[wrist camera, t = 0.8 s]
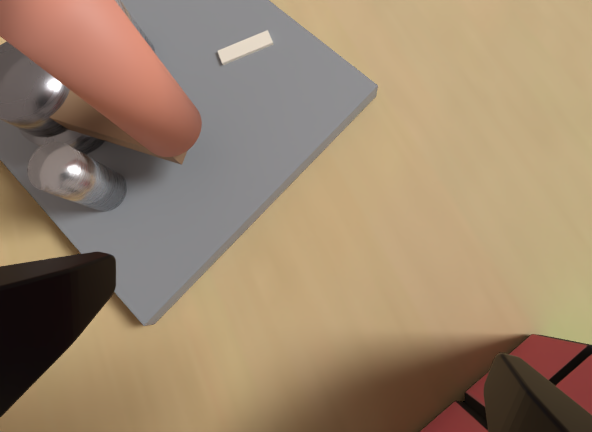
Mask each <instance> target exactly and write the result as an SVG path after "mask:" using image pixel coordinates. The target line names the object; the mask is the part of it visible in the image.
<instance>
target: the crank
mask: <svg viewBox="0 0 592 432" xmlns="http://www.w3.org/2000/svg"><path fill="white" fill-rule="evenodd" d="M0 36H1V37H2V38H3V39H5V40H6V41H7V42H5V43H3V44H2V45H0V119H1V120H3V121H5V122H7V123H9V124H11V125H13V126H14V127H16V128H18V129H20V130H22V131H24V132H26V133H28V134H30V135H32V136H36V137H52V136H56V135H59V134H61V133H63V132H65V131H67V130H68V129H69V130H72V131H75V132H78V133H81V134H85V135H88V136H91V137H94V138H97V139H101V140H104V141H107V142H110V143H114V144H117V145H120V146H123V147H126V148H130V149H133V150H136V151H139V152H142V153H146V154H149V155H152V156H155V157H158V158H162V159H165V160H168V161H171V162H174V163H178V164H181V165H182V163H183V161H184V158H185V156H186V153H187V151H188V150H189V149H190V148H191V147H192V146H193V145H194V144H195V142H196V141H197V139H198V137H199V135H200V132H201V128H202V120H201V116H200V113H199V111H198V109H197V108H196V107H195V105H194V104H193V103H192V101H191V100H190V99H189V97H188V96H187V95H186V94H185V92H184V91H183V90H182V88H181V87H180V86H179V84H178V83H177V82H176V80H175V79H174V78H173V76H172V75H171V74H170V72H169V71H168V70H167V68H166V67H165V66H164V64H163V63H162V62H161V61H160V59H159V58H158V57H157V55H156V54H155V53H154V51H153V50H152V49H151V47H150V46H149V45H148V43H147V42H146V41H145V39H144V38H143V37H142V35H141V34H140V33H139V31H138V30H137V29H136V27H135V26H134V25H133V24H132V22H131V21H130V20H129V18H128V17H127V16H126V14H125V13H124V12H123V10H122V9H121V8H120V6H119V5H118V4H117V2H116V1H115V0H0Z"/></svg>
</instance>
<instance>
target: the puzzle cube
mask: <svg viewBox="0 0 592 432" xmlns="http://www.w3.org/2000/svg"><path fill="white" fill-rule="evenodd" d="M509 355H513V356H517V357H520V358H521V359H523V360H524V361H525V362H526V363H528V364H529V365H530V366H531V367H533V368H534V369H535V370H536V371H538V372H539V373H540V374H541V375H543V376H544V377H545V378H546V379H548V380H549V381H550V382H551V383H553V384H554V385H555V386H556V387H558V388H559V389H560V390H561V391H563V392H564V393H565V394H566V395H568V396H569V397H570V398H571V399H572V400H574V401H575V402H576V403H577V404H579V405H580V406H581V407H582V408H584V409H585V410H586V411H587V412H589V413H590V414H591V415H592V345H589V344H584V343H579V342H574V341H569V340H564V339H559V338H554V337H548V336H543V335H535V334H532V335H530V336H529V337H528V338H527V339H526V340H525V341H523V342H522V343H521V344H520V345H519V346H518V347H517V348H515V349H514V350H513V351H512V352H511V353H510V354H509ZM488 373H489V372H488ZM488 373H487V374H485V375H484V376H483V377H482V378H481V379H480V380H479V381H477V382H476V383H475V384H474V385H473V386H472V387H471V388H469V389H468V390H467V391H466V392H465V402H460V401H454V402H453V403H452V404H451V405H450V406H449V407H448V408H446V409H445V410H444V411H443V412H442V413H441V414H439V415H438V416H437V417H436V418H435V419H434V420H433V421H431V422H430V423H429V424H428V425H427V426H426V427H424V428H423V429H422V430H421V431H420V432H488V425H487V417H486V410H485V402H484V384H485V381H486V378H487V376H488Z"/></svg>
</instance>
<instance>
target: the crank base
mask: <svg viewBox="0 0 592 432" xmlns="http://www.w3.org/2000/svg"><path fill="white" fill-rule="evenodd" d="M115 1H116V2H117V4H118V5H119V6H120V8H121V9H122V10H123V12H124V13H125V14H126V16H127V17H128V18H129V20H130V21H131V22H132V24H133V25H134V26H135V27H136V29H137V30H138V31H139V33H140V34H141V35H142V37H143V38H144V39H145V41H146V42H147V43H148V45H149V46H150V47H151V49H152V50H153V51H154V53H155V54H156V55H157V57H158V58H159V59H160V61H161V62H162V63H163V64H164V66H165V67H166V68H167V70H168V71H169V72H170V74H171V75H172V76H173V78H174V79H175V80H176V82H177V83H178V84H179V86H180V87H181V88H182V90H183V91H184V92H185V94H186V95H187V96H188V97H189V99H190V100H191V101H192V103H193V104H194V105H195V107H196V108H197V109H198V111H199V113H200V116H201V120H202V128H201V132H200V135H199V137H198V139H197V141H196V142H195V144H194V145H193V146H192V147H191V148H190V149H189V150H188V151H187V153H186V156H185V158H184V161H183V163H182V165H181V164H178V163H174V162H171V161H168V160H165V159H162V158H158V157H155V156H152V155H149V154H146V153H142V152H139V151H136V150H133V149H130V148H126V147H123V146H120V145H117V144H114V143H110V142H107V141H104V140H101V139H97V138H94V137H91V136H88V135H85V134H81V133H78V132H75V131H72V130H69V129H68V130H67V131H65V132H63V133H61V134H59V135H56V136H52V137H36V136H32V135H30V134H28V133H26V132H24V131H22V130H20V129H18V128H16V127H14V126H13V125H11V124H9V123H7V122H5V121H3V120H1V119H0V160H1V161H2V162H3V164H4V165H5V166H6V167H7V168H8V169H9V171H10V172H11V173H12V174H13V175H14V176H15V177H16V179H17V180H18V181H19V182H20V183H21V184H22V186H23V187H24V188H25V189H26V190H27V191H28V193H29V194H30V195H31V196H32V197H33V198H34V199H35V201H36V202H37V203H38V204H39V205H40V206H41V208H42V209H43V210H44V211H45V212H46V213H47V215H48V216H49V217H50V218H51V219H52V220H53V221H54V223H55V224H56V225H57V226H58V227H59V228H60V230H61V231H62V232H63V233H64V234H65V235H66V237H67V238H68V239H69V240H70V241H71V242H72V243H73V245H74V246H75V247H76V248H77V249H78V250H79V252H80V253H81V254H84V253H90V252H97V251H98V252H103V253H107V254H111V255H113V256H114V257H115V259H116V288H115V291H114V292H115V293H116V294H117V296H118V297H119V298H120V299H121V300H122V301H123V302H124V304H125V305H126V306H127V307H128V308H129V309H130V311H131V312H132V313H133V314H134V315H135V316H136V318H137V319H138V320H139V321H140V322H141V323H142V324H143V326H146V325H152V324H155V323H156V322H157V321H158V320H159V319H160V318H161V317H162V316H163V315H164V314H165V313H166V312H167V311H168V310H169V309H170V308H171V307H172V306H173V305H174V304H175V303H176V301H177V300H178V299H179V298H180V297H181V296H182V295H183V294H184V293H185V292H186V291H187V290H188V289H189V288H190V287H191V286H192V285H193V284H194V283H195V282H196V281H197V280H198V279H199V278H200V277H201V276H202V275H203V274H204V273H205V272H206V271H207V270H208V269H209V268H210V267H211V265H212V264H213V263H214V262H215V261H216V260H217V259H218V258H219V257H220V256H221V255H222V254H223V253H224V252H225V251H226V250H227V249H228V248H229V247H230V246H231V245H232V244H233V243H234V242H235V241H236V240H237V239H238V238H239V237H240V236H241V235H242V234H243V233H244V232H245V231H246V230H247V228H248V227H249V226H250V225H251V224H252V223H253V222H254V221H255V220H256V219H257V218H258V217H259V216H260V215H261V214H262V213H263V212H264V211H265V210H266V209H267V208H268V207H269V206H270V205H271V204H272V203H273V202H274V201H275V200H276V199H277V198H278V197H279V196H280V195H281V194H282V192H283V191H284V190H285V189H286V188H287V187H288V186H289V185H290V184H291V183H292V182H293V181H294V180H295V179H296V178H297V177H298V176H299V175H300V174H301V173H302V172H303V171H304V170H305V169H306V168H307V167H308V166H309V165H310V164H311V163H312V162H313V161H314V160H315V159H316V158H317V157H318V155H319V154H320V153H321V152H322V151H323V150H324V149H325V148H326V147H327V146H328V145H329V144H330V143H331V142H332V141H333V140H334V139H335V138H336V137H337V136H338V135H339V134H340V133H341V132H342V131H343V130H344V129H345V128H346V127H347V126H348V125H349V124H350V123H351V122H352V121H353V119H354V118H355V117H356V116H357V115H358V114H359V113H360V112H361V111H362V110H363V109H364V108H365V107H366V106H367V105H368V104H369V103H370V102H371V101H372V100H373V99H374V98H375V97H376V93H377V88H378V85H377V84H375V83H374V82H373V81H372V80H370V79H369V78H368V77H366V76H365V75H364V74H363V73H361V72H360V71H359V70H357V69H356V68H355V67H354V66H352V65H351V64H350V63H348V62H347V61H346V60H345V59H343V58H342V57H341V56H339V55H338V54H337V53H336V52H334V51H333V50H332V49H331V48H329V47H328V46H327V45H325V44H324V43H323V42H322V41H320V40H319V39H318V38H316V37H315V36H314V35H313V34H311V33H310V32H309V31H307V30H306V29H305V28H304V27H302V26H301V25H300V24H298V23H297V22H296V21H295V20H293V19H292V18H291V17H289V16H288V15H287V14H286V13H284V12H283V11H282V10H280V9H279V8H278V7H277V6H275V5H274V4H273V3H272V2H270V1H269V0H115Z"/></svg>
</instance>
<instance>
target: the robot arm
mask: <svg viewBox="0 0 592 432" xmlns="http://www.w3.org/2000/svg"><path fill="white" fill-rule="evenodd" d="M115 288H116V259H115V257H114V256H113V255H111V254H107V253H103V252H98V251H97V252H90V253H84V254H77V255H71V256H65V257H58V258H52V259H46V260H39V261H33V262H27V263H20V264H14V265H8V266H1V267H0V417H1V416H2V415H3V414H4V413H5V412H6V411H7V410H8V409H9V408H10V407H11V406H12V405H13V404H14V403H15V402H16V401H17V400H18V399H19V398H20V397H21V396H22V395H23V394H24V393H25V392H26V391H27V390H28V389H29V388H30V387H31V386H32V385H33V384H34V383H35V382H36V381H37V380H38V379H39V377H40V376H41V375H42V374H43V373H44V372H45V371H46V370H47V369H48V368H49V367H50V366H51V365H52V364H53V363H54V362H55V361H56V360H57V359H58V358H59V357H60V356H61V355H62V354H63V353H64V352H65V351H66V350H67V349H68V348H69V347H70V346H71V345H72V344H73V342H74V341H75V340H76V339H77V338H78V337H79V335H80V334H81V333H82V332H83V331H84V329H85V328H86V327H87V326H88V324H89V323H90V322H91V321H92V320H93V318H94V317H95V316H96V315H97V313H98V312H99V311H100V310H101V308H102V307H103V306H104V305H105V303H106V302H107V301H108V300H109V299H110V297H111V296H112V295H113V293H114V291H115ZM484 402H485V410H486V417H487V425H488V432H592V415H591V414H590V413H589V412H587V411H586V410H585V409H584V408H582V407H581V406H580V405H579V404H577V403H576V402H575V401H574V400H572V399H571V398H570V397H569V396H568V395H566V394H565V393H564V392H563V391H561V390H560V389H559V388H558V387H556V386H555V385H554V384H553V383H551V382H550V381H549V380H548V379H546V378H545V377H544V376H543V375H541V374H540V373H539V372H538V371H536V370H535V369H534V368H533V367H531V366H530V365H529V364H528V363H526V362H525V361H524V360H523V359H521V358H520V357H517V356H513V355H509V354H505V353H499V354H497V355H496V357H495V358H494V361H493V363H492V366H491V368H490V371H489V373H488V376H487V378H486V381H485V384H484Z"/></svg>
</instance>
